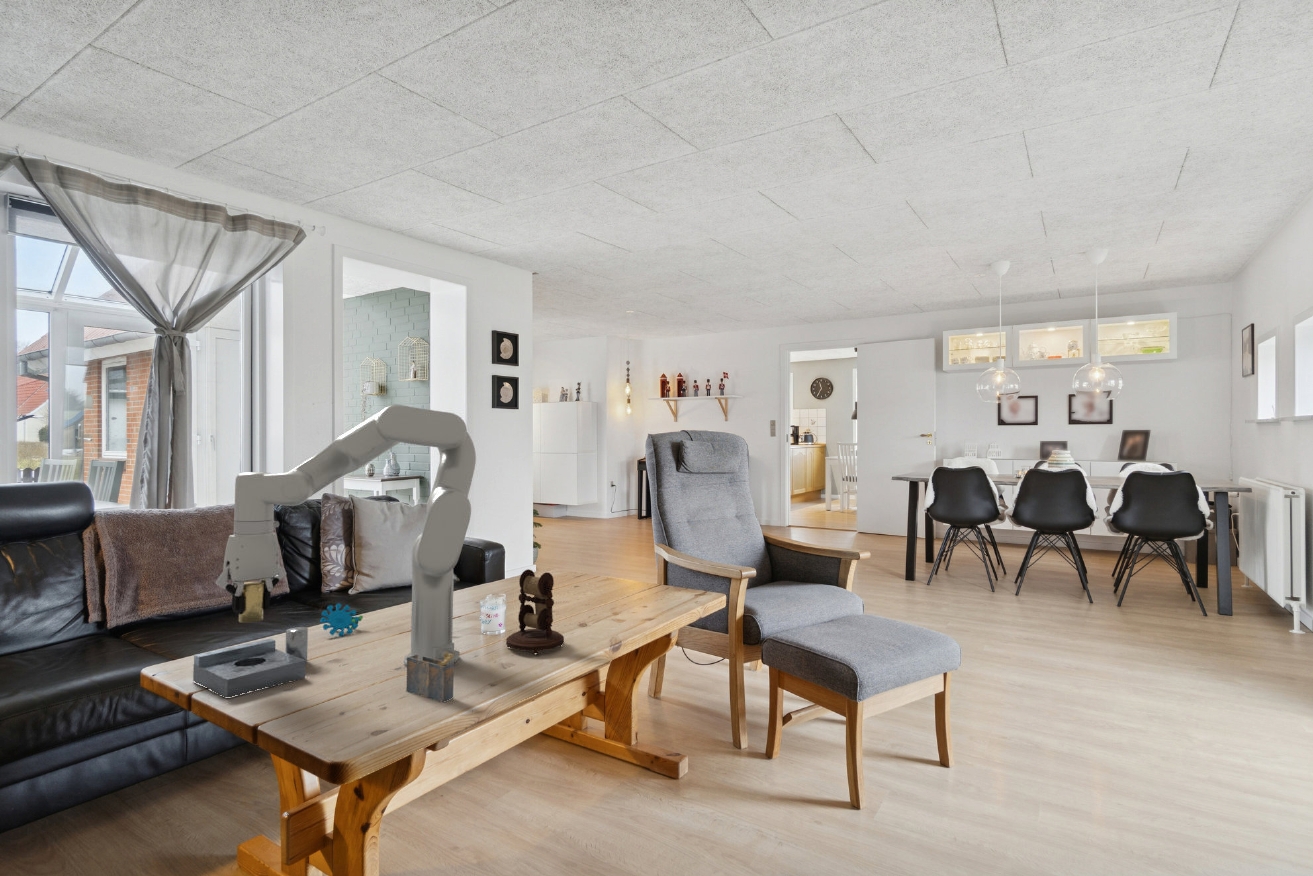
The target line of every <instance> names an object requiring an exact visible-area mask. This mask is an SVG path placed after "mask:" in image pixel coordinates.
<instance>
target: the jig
mask: <svg viewBox="0 0 1313 876" xmlns="http://www.w3.org/2000/svg"><path fill="white" fill-rule="evenodd" d="M192 673H193V675H192V676H193V677H192V678H193V681H195V682H196V683H199V684H201V685H203V686H205V687H207V688H208V689H211V690H212V691H214V692H216V693H218V694H219V695H222V696H224V697H232V696H235V695H240V694H242V693H247V692H249V691H255V690H257V689H262V688H265V687H271V686H273V685H278V684H281V683H285V684H287V683H286V682H289V681H293V682H295V681H294V680H296V681H299V680H298V679H300V680H303V679H302V678H304V679H306V664H305V660H304V659H301V658H298V657H296V656H293V655H290V654H288V653H286V651H282V650H279V649H276V639H273V638H266V639H263V640H258V641H253V642H249V643H243V644H240V645H234V646H230V647H226V648H222V649H216V650H213V651H212V650H211V651H208V652H203V653H197V654H194V655H193V672H192ZM193 681H192V682H193ZM289 683H290V682H289ZM278 686H279V685H278ZM271 688H272V687H271ZM219 695H218V696H219Z"/></svg>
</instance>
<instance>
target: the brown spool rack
mask: <svg viewBox="0 0 1313 876" xmlns="http://www.w3.org/2000/svg"><path fill="white" fill-rule="evenodd" d="M518 582H519V584H518V585H519V587H520V589H519V592H520V594H519V595H518V600H519V603H520V607H519V611H518V617H517V618H518V623H519V626H518V627H519V631H515V632H513V633H512V634H510V635H508V636H507V637H506V640H505V641H506V643H505V645H506V646H507V647H510V649H513V650H517V651H526V652H533V653H532V654H534V653H537V654H538V652H539V651H549V650H552V649H553V650H554V649H556V648H559V647H560V646H561V645H562V644H563V645H564V643H565V636H564V635H563V634H562V633H559V631H556V630H553V629H552V627H553V625H552V624H553V622H554V617H553V606H554V604H555V600H554V599H553V590H554V588H553V587H554V586H555V585H554V584H555V582H554V577H553V575H552V573H550V572H543V573H542V574H541V575H540V576H539V577H538V576H536V575H535V572H534V570H532V569H525V570H524V571H522V573H521V574H520V577H519V581H518ZM526 602H531V603H533V604H534V607H535V610H534V607H533V606H532V604H525V603H526ZM526 627H529V628H527V629H526Z"/></svg>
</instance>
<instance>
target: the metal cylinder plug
mask: <svg viewBox="0 0 1313 876" xmlns="http://www.w3.org/2000/svg"><path fill="white" fill-rule="evenodd" d="M308 631H309V629H308V627H304V626H299V627H297V626H296V627H291V628H287V629H286V630H285V653H288V654H290V655H293V656H296V657H298V658H301V659H304V660H305V665H307V663H308V641H309V639H308V633H309V632H308Z"/></svg>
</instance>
